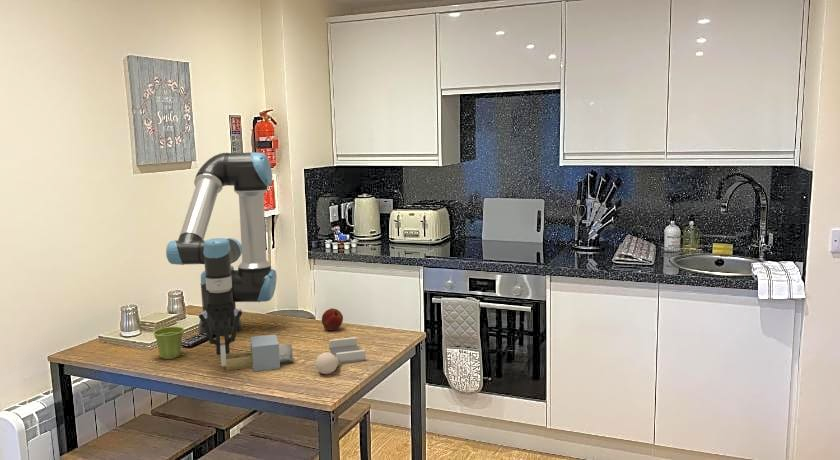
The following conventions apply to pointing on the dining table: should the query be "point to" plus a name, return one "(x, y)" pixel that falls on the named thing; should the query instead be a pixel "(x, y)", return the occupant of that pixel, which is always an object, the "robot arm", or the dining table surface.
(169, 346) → the plant pot
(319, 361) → the beige ball knob
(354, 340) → the rest
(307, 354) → the dining table surface
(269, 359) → the block
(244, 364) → the translucent yellow block
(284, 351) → the silver metal cylinder
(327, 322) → the apple
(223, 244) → the robot arm
